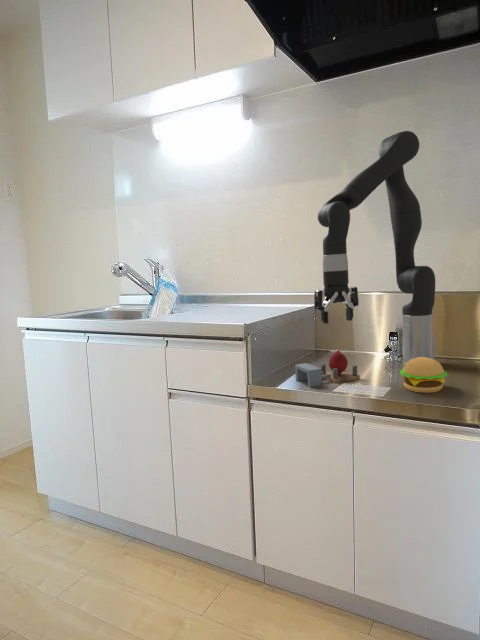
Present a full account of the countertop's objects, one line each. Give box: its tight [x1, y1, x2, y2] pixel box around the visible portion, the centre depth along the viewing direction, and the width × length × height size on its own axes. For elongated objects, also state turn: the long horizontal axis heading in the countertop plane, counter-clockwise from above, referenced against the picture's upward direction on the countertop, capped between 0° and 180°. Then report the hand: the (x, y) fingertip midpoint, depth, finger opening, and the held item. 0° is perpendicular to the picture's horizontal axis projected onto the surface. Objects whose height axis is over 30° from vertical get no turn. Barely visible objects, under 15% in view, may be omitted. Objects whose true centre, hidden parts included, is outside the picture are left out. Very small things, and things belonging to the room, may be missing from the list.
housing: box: [294, 362, 323, 388], centre depth 136 cm, size 4×9×5 cm, turn 21°
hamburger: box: [399, 357, 448, 394], centre depth 123 cm, size 12×12×9 cm
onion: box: [328, 349, 349, 375], centre depth 139 cm, size 6×6×8 cm
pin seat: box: [320, 363, 361, 384], centre depth 139 cm, size 13×9×4 cm
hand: (337, 321), depth 138 cm, fingers open, 8 cm apart
